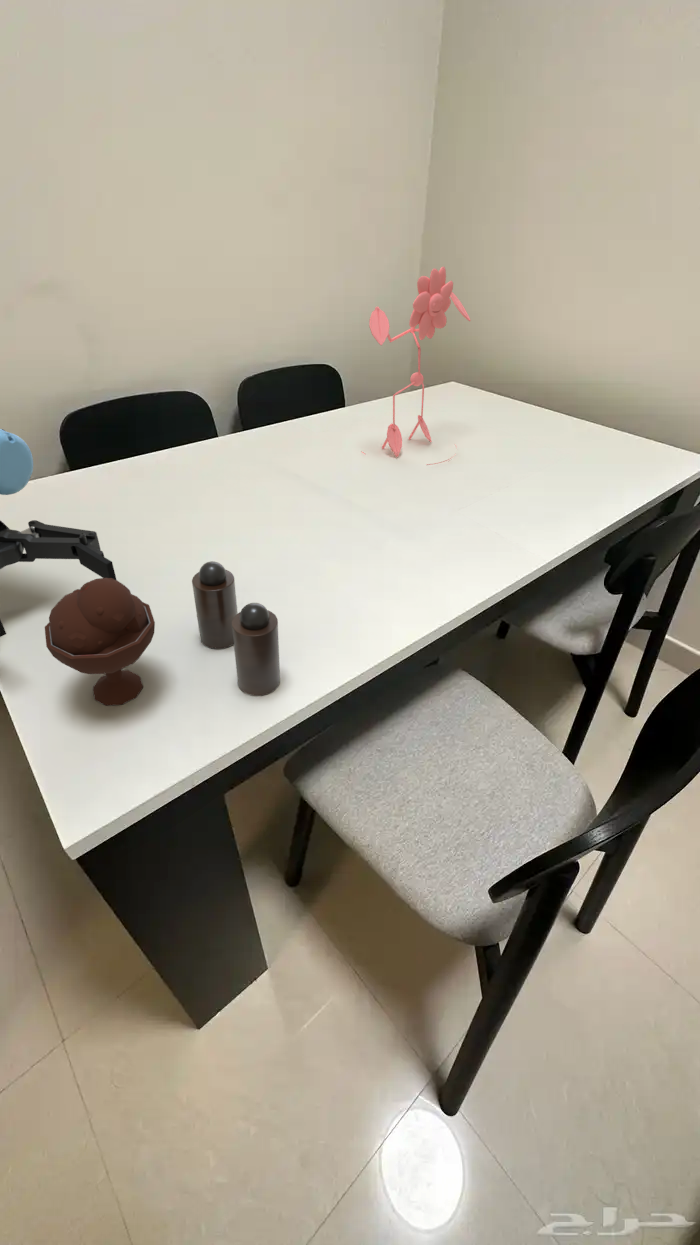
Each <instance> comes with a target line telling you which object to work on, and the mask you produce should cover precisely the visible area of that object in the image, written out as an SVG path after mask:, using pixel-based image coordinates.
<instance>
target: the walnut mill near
mask: <svg viewBox="0 0 700 1245" xmlns="http://www.w3.org/2000/svg"><path fill="white" fill-rule="evenodd" d="M278 621H279V620H278V617H277V616H276V614H275V613H273V612H272V611H270V610H268V608H267V607H266V606H265V605H264V604H262V603H259V602H250V603H248V604H245V605H244V606H243V607H242V609H241V610H240V611H239V612H238V614H237V615H236V616H235V617H234V618H233V620H232V631H233V641H234V644H233V649H234V650H233V651H234V658H235V659H234V660H235V669H236V680H237V686H238V688H239V689H240V690H241V691H242V692H243V693H244V694H246V695H248V696H249V695H250V696H254V697H260V696H266V695H269V694H271V693H272V692H274V691H276V690H277V688H278V687H279V685H280V684H281V668H280V643H279V642H280V641H279V639H280V638H279V622H278Z"/></svg>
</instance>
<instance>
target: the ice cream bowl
mask: <svg viewBox="0 0 700 1245" xmlns="http://www.w3.org/2000/svg"><path fill="white" fill-rule="evenodd" d="M155 627H156V622H155V618H154V615H153V613H152V609H151V606H150V604H149V603H146V602H144V601H142V600H141V599H140V598H139V597H138V596H137V595H135V594H133V593H131V590H130V589H129V588H128V587H127V586H126V585H125V584H124V583H122V582H120V581H119V580H117V579H116V580H114V579H113V578H102V577H100V578H94V579H92V580H90V581H87V582H85V583H83V585H82V586H81V587H80V588H77V589H75V590H73V591H72V592H70V593H68V594H67V593H66V594H65V595H64V596H63V597H62V598H61V599H60V600H59V601H58V602H57V603H56V604H55V605H54V606H53V608H51V609H50V613H49V616H48V623H47V624H46V625H45V626H44V636H45V645H46V648H47V650H48V651H49V653H50V654H51V656H52V657H54V658H55V659H56V660H57V661H58V662H59V663H61V664H63V665H65V666H66V667H69V668H71V669H73V670H75V671H77V672H79V673H81V674H85V675H102V676H100V677H99V679H97V681H96V683H95V684H94V685H93V688H92V691H93V692H92V693H93V698H94V701H96V702H98V703H100V704H101V705H104V706H105V707H107V706H108V707H109V706H122V705H124V704H126V703H129V702H130V701H133V700H134V699H136V698H137V697H138V696H139V695H140V693H141V691H142V690H143V688H144V685H143V681H142V678H141V676H140V675H139V674H138V673H135V672H134V671H131V670H129V669H125V668H127V667H129V666H131V665H133V664H135V663H136V662H137V661H138V660H139V659H140V658H141V656H142V655H143V654H144V652H145V651H146V649H147V648H149V645H151V642H152V640H153V638H154V635H155ZM123 669H125V670H123Z"/></svg>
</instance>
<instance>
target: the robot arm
mask: <svg viewBox="0 0 700 1245" xmlns="http://www.w3.org/2000/svg"><path fill="white" fill-rule="evenodd" d="M33 472H34V458H33V453H32V451H31V448H30V447H29V445H28V444H27V442H26V441H25V440H24V439H23V438H22V437H20V436H18V435H17V434H15V433H13V432H9V431H6V430H5V429H3V428H0V495H1V496H10V495H14V494H17V493H19V492H20V491H22V490H24V488H25V487H26V486H27V485H28V483H29V481H30V479H31V476H32V475H33ZM27 525H28V528H25V529H24V530H21V531H19V530H17V529H11V528H10V527H8V526H7V525H6V524H5V523H4V522H3V521H2V520H0V570H2V569H4V568H5V567H7V566H11V565H13V564H16V563H19V562H20V563H33V562H34V561H35V560H42V559H43V560H79V563H80V565H82V566H83V567H84V568H86V569H88V570H90V571H91V572H92V573H94V574H96V575H98V576H99V577H100V578H113V579H114V580H117V576H116V573H115V569H114V564H113V561H112V560H110V559H109V558H107V557H105V554H104V552H103V551H102V550H101V545H100V541H99V538H98V533H97V531H95V530H88V529H82V528H81V529H79V528H73V527H68V526H59V525H53V524H46V523H43V522H41V521H40V520H35V519H34V520H30V521H28V522H27ZM24 551H25V553H24ZM5 635H7V631H6V629H5V627H4V625H3V622H2V620H1V619H0V638H1V637H3V636H5Z"/></svg>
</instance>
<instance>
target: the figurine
mask: <svg viewBox="0 0 700 1245" xmlns="http://www.w3.org/2000/svg"><path fill="white" fill-rule="evenodd" d="M416 286H417V292H418V295H417V296H416V298H415V299H414V301H413V303H412V309H413V310H412V312H411V314H410V318H409V322H408V323H409V324H408V325H409V327H410V328H409V329H406V330H405V331H403V332H401V333H399V334H397V335H396V336H394V337H391V335H390V327H391V326H390V321H389V318H388V316H387V314H386V312H385V311H383V310H382V309H381V308H380V307H379V306H375V307H374V310H373V311H371V314H370V317H369V321H368V322H369V325H368V326H369V329H370V333H371V335H372V337H373V338H374V339H375V341H376V342H377V343H378V344H379V345H380V346H383V345H384V343H385V342H386V339H388V340H387V341H389V343H392V342H395V341H396V340H398V339H400V338H402V337H404V336H406V335H407V334H409V333H411V334H412V337H413V339H414V341H415V345H416V347H417V371H416V372H414V373H412V374H411V376H410V378H409V379H410V380H409V381H410V383H409V384H408V385H406V386H405V387H403V388H401V389H400V390H398V391H396V392H395V393H393V395H392V422H391V423H390V424H389V425H388V426H387V431H386V438H385V440H384V442H383V444H382V445H381V449H382V450H384V449H385V447H386V446H387V444H388V447H389V448H390V450H391V451H392V453H393V455H394V456H395V457H396V458H398V457H399V455H400V453H401V450H402V447H403V437H402V433H401V430H400V428H399V426H398V425H397V424H396V415H395V414H396V396H397V395H399V394H400V393H402V392H403V391H405V390H406V389H408V388H410V387H411V386H414V387H420V386H422V387H421V388H422V390H421V407H420V408H421V411H420V414H421V415H420V414H418V415H417V423H416V424H415V426H414V428H413V429H412V431H411V433H410V435H409V436H408V438H407V439H408V440H412V438H413V436H414V434H415V433H416V431H417V429H418V427H420V429H421V432H422V433H423V435H424V437H425V438H426V439H427V441H428V442H429V443H432V437H431V434H430V431H429V428H428V425H427V424H426V421H425V419H424V418H423V416H424V400H425V399H424V398H425V384H424V379H425V378H424V375H423V374H422V373H421V354H422V353H421V352H422V348H421V345H420V342H419V340H420V341H423V340H424V339H425V338H426V337H427V338H428V339H429V340H431V339H433V337H434V335H435V332H436V329H440V330H441V329H443V328H444V327H445V326H446V325H447V322H448V321H447V315H446V314H445V313H446V312H447V311H448V309H449V308H450V306H451V304H452V303H453V304H454V306H455V307H456V309H457V310H458V312H459V313H460V314H461V315H462V317H463V318H464V319H465V320H467V321H468V322H471V321H472V320H471V317H470V315H469V314H468V312H467V310H466V308H465V307H464V305H463V302H462V301H461V299H459V298H458V296H457V295H456V294H455V293H454V292H453V290H454V282H453V280H449V281H448V282H447V269H446V267H445V266H441V267H440V269H438V268H432V270H431V271H430V277H428V276H426V275H421V276H420V277H419V278H417V283H416ZM417 326H418V328H416V327H417ZM415 332H417V333H418V338H417V335H416V333H415ZM418 339H419V340H418ZM454 445H455V448H456V449H457V445H456V444H454ZM360 452H361V453H362V454H364V455H366V453H364V452H363V451H362V450H361V451H360ZM455 456H456V454H454V455H453V456H452V457H450V458H448V459H446V460H443V461H440V462H435V463H426V466H431V465H436V464H441V463H445V462H450V461H452V458H454V457H455Z"/></svg>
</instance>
